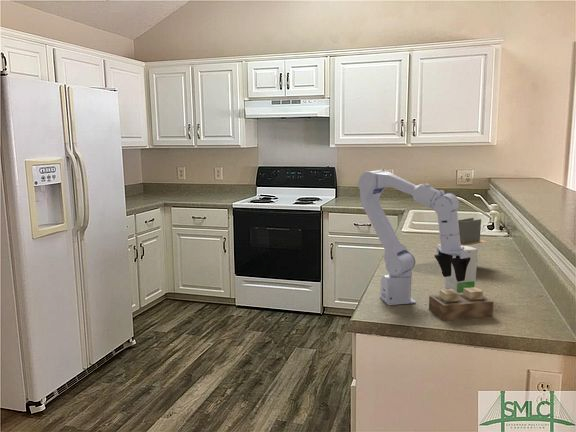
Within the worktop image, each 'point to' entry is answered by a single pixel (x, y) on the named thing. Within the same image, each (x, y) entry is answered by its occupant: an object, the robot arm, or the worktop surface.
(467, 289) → the peg
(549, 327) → the worktop surface
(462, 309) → the walnut block
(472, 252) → the skincare box
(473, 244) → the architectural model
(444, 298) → the peg
